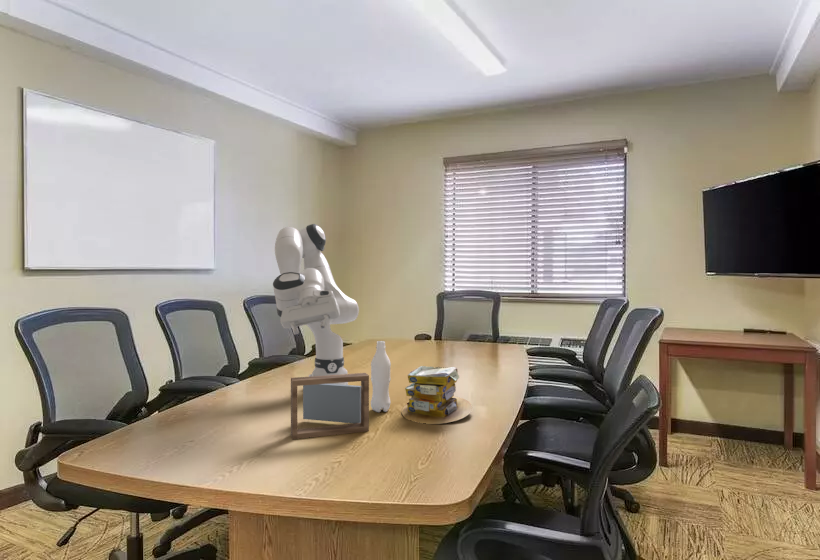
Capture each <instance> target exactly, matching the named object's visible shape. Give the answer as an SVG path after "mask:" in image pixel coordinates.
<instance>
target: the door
mask: <svg viewBox="0 0 820 560" xmlns="http://www.w3.org/2000/svg"><path fill="white" fill-rule="evenodd" d="M302 386H303V388H302V419H303V420H308V421H309V420H311V421H321V422H331V423H333V422H334V423H344V424H353V423H361V385H353V384H352V385H351V384H348V385H339V384H316V385H302Z"/></svg>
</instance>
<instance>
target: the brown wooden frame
mask: <svg viewBox="0 0 820 560" xmlns="http://www.w3.org/2000/svg"><path fill="white" fill-rule="evenodd" d="M343 382H348V383H353V382H360V386H361V423H344V424H337V425H328V426H327V425H326V426H317V427H316V426H315V427H307V428H298V387H301V386H303V385H316V384H329V383H343ZM369 431H370V375H369V374H368V373H367V372H357V373H347V374H340V375H325V376H311V377H309V376H301V377H300V376H298V377H290V436H292V437H291V439H292V440H300V439H299V438H301V439H308V438H309V437H310V438H316V437H318V438H320V437H325V436H326V437H327V436H328V437H329V436H336V434H337V435H344V434H345V435H346V434H353V433H354V434H355V433H362V432H363V433H364V432H369Z"/></svg>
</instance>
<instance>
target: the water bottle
mask: <svg viewBox="0 0 820 560" xmlns="http://www.w3.org/2000/svg"><path fill="white" fill-rule="evenodd" d="M375 348H376V351H375V354H374V355H373V357H372V359H371V363H370V371H371V372H370V380H371V384H372V385H371V386H372V395H371V399H370V407H371V410H372V411H374V412H375V413H380V412H382V411H383V412H384V413H385V412H388V411H389V409H390V406H391V398H390V393H389V392H390V391H389V388H390V382H391V360H390V357H389V356H388V354H387V351H386V348H387V346H386V341H385V340H377V341H376V347H375Z"/></svg>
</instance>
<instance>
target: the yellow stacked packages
mask: <svg viewBox="0 0 820 560" xmlns="http://www.w3.org/2000/svg"><path fill="white" fill-rule="evenodd" d="M458 372H459V371H458V368H457V367H456V366H455V367H454V366H451V367H447V366H446V367H440V366H426V365H425V366H424V365H421V366H418V367H417V368H415V369H413V370H412V371H410V372H409V373H408V374H407V380H408V383H409V385H408V386H406V387H405V390H404V391H405V394H406V396H407V397H410V398H408V402H406V404H405V405H404V406H403V408H402V409H401V415H402V416H403V417H404V419H406V420H408V421H410V420H412V421H411V422H414V421H416V422H415V423H419V422H420V423H419V424H423V423H426V424H425V425H440V424H447V423H451V422H457V421H459V420H462V419H464V418H466V417H467V416H468V415H469V414H471V412H472V411H473V405H472V403H471V402H470V401H469V400H467V399H465V398H463V397H458V396H455V393H456V383H457V381H458V380H459V379H460V375H459V373H458Z"/></svg>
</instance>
